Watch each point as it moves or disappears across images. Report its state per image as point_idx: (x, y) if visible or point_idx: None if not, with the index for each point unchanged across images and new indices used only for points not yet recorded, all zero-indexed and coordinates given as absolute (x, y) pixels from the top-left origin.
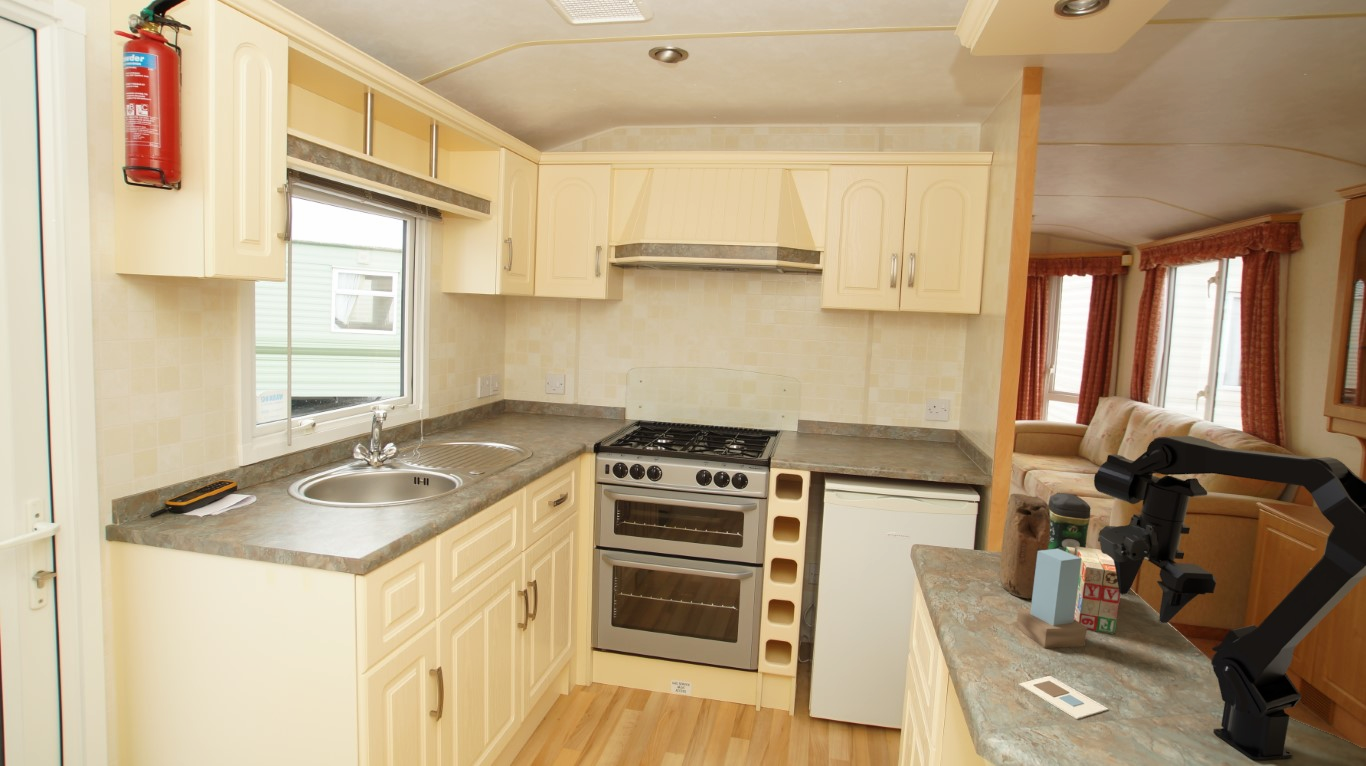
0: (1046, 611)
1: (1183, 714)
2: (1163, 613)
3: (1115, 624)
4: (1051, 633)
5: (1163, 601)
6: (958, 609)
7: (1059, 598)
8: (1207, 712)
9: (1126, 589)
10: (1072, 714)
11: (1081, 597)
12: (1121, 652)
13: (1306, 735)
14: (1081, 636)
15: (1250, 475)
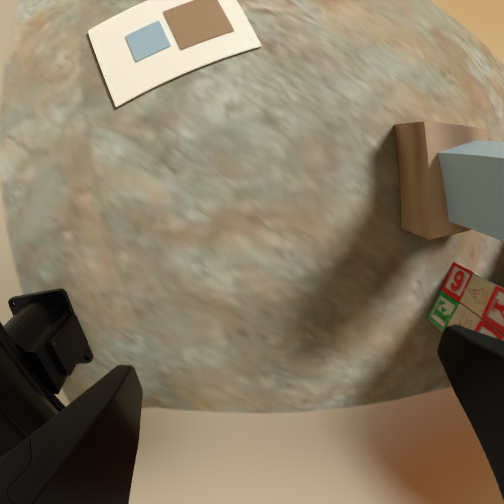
0: (471, 148)
1: (119, 276)
2: (79, 399)
3: (437, 326)
4: (417, 138)
5: (44, 457)
6: (491, 73)
7: (495, 169)
8: (139, 329)
9: (452, 361)
10: (99, 27)
11: (497, 286)
12: (373, 295)
13: None
14: (415, 222)
15: None
